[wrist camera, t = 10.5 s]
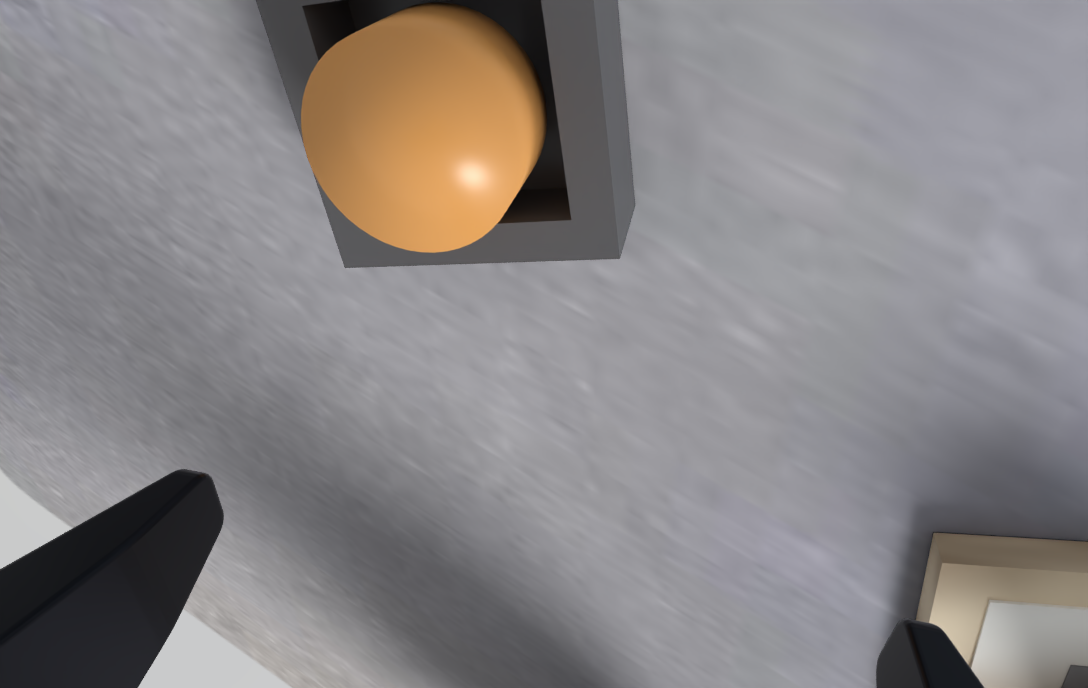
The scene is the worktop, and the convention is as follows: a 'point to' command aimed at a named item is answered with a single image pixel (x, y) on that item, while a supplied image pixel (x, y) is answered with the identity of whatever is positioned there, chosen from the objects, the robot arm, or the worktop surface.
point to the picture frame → (1011, 607)
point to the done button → (424, 126)
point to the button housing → (570, 142)
